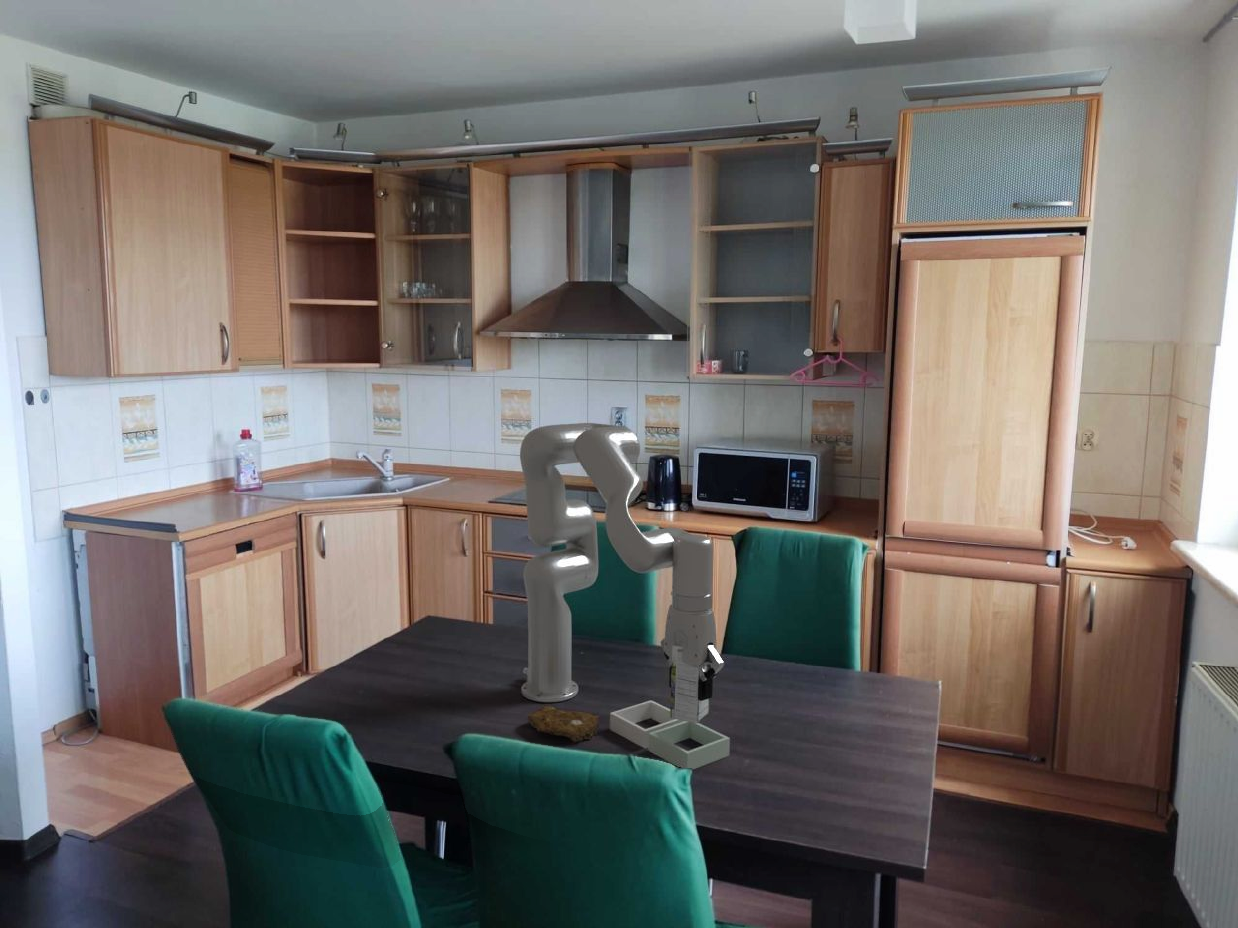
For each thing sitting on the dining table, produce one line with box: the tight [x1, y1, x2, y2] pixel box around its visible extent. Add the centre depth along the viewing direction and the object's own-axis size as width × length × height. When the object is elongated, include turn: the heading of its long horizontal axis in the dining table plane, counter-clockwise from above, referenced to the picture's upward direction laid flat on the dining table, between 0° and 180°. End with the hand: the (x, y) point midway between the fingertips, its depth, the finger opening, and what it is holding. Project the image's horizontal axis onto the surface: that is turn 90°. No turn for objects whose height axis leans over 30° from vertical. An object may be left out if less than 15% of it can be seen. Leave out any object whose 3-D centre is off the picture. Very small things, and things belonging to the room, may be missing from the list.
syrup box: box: [669, 644, 710, 723], centre depth 173 cm, size 6×6×14 cm
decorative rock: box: [526, 705, 600, 743], centre depth 184 cm, size 11×4×15 cm
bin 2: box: [648, 721, 731, 770], centre depth 175 cm, size 11×11×4 cm
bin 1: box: [609, 699, 684, 749], centre depth 184 cm, size 11×11×4 cm
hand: (690, 691), depth 173 cm, fingers closed on syrup box, 7 cm apart
